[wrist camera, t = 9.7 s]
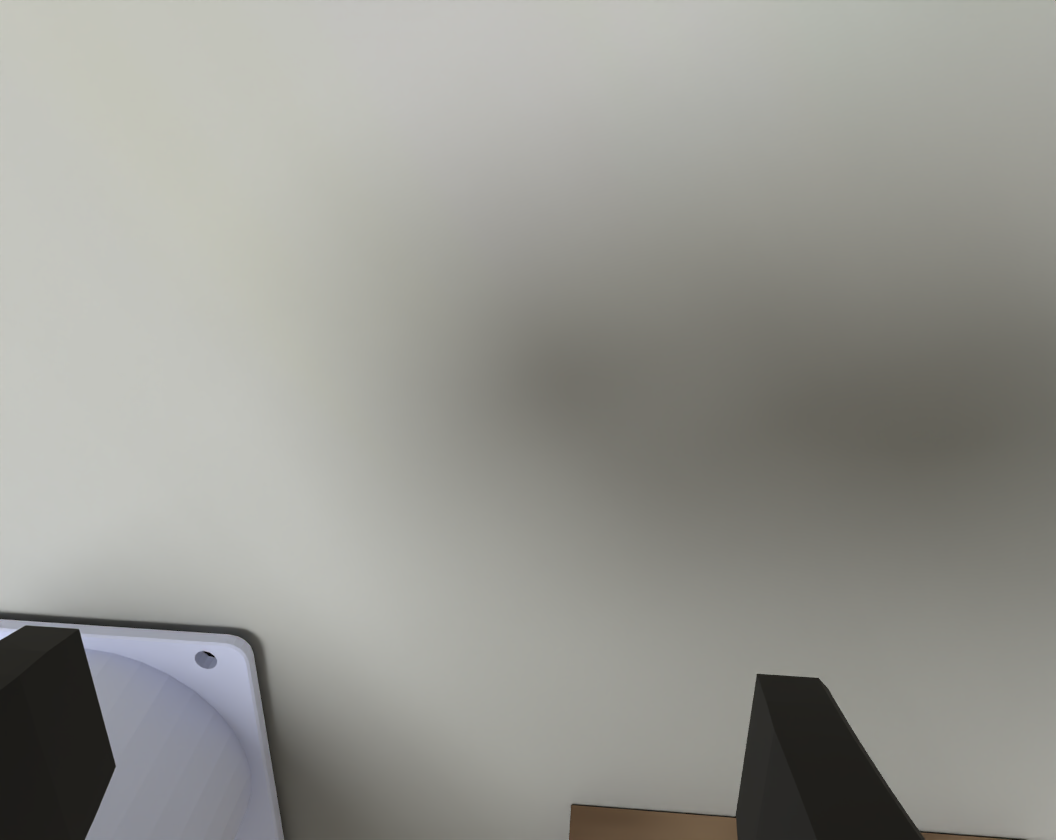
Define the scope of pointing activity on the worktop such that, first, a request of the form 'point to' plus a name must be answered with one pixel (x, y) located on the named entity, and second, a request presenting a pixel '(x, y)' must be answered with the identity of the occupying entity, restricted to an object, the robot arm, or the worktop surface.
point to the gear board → (667, 826)
